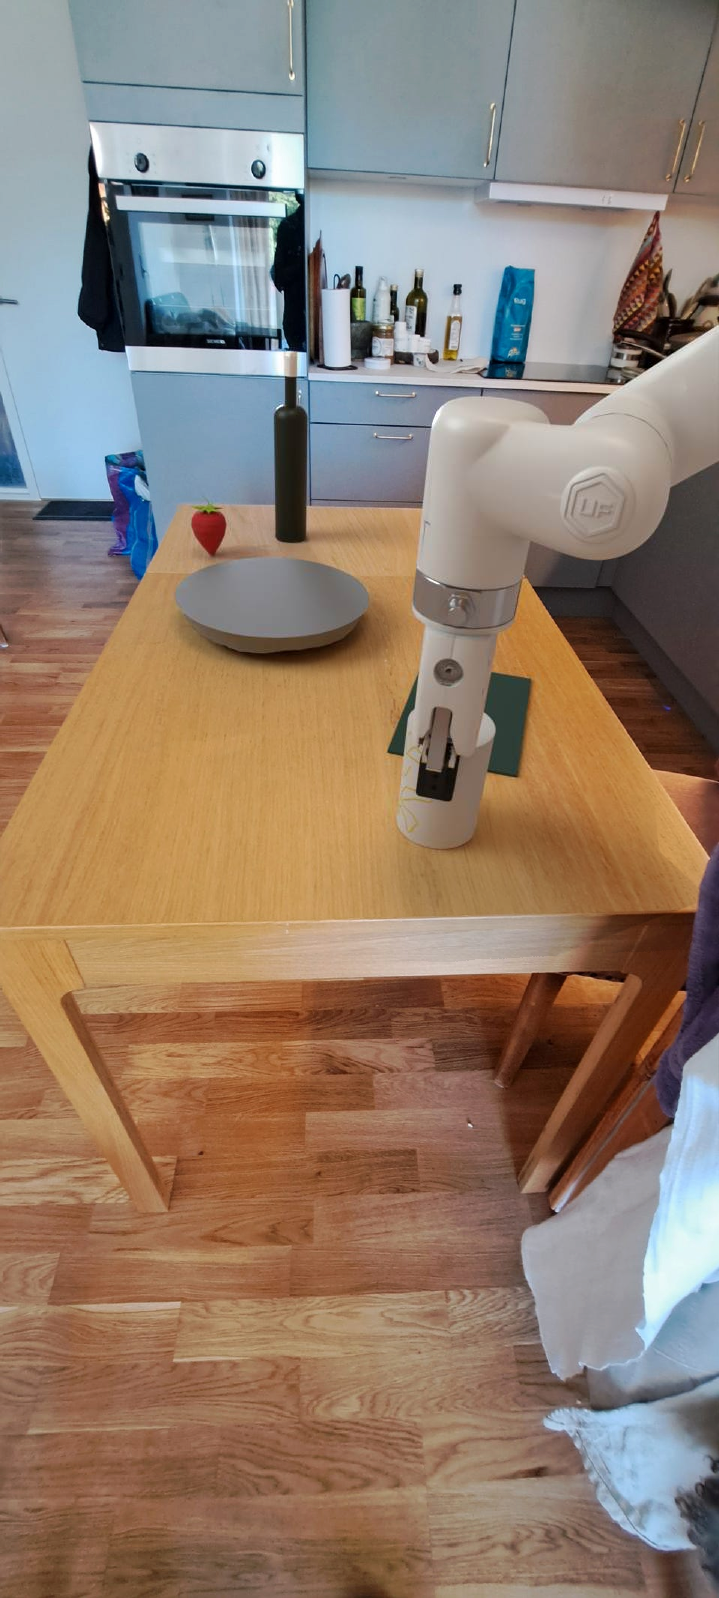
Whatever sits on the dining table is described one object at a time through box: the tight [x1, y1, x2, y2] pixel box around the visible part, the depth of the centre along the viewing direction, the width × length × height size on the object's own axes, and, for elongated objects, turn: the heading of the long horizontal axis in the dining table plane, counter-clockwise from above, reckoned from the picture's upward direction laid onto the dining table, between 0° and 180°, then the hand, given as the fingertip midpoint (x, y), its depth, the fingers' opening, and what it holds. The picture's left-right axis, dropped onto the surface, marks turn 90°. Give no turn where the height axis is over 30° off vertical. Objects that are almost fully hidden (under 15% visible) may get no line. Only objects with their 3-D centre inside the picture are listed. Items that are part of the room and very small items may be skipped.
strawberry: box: [190, 495, 227, 556], centre depth 125 cm, size 6×8×10 cm
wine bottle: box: [273, 350, 309, 543], centre depth 128 cm, size 6×6×30 cm
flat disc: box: [174, 556, 370, 654], centre depth 108 cm, size 28×28×4 cm
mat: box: [386, 671, 532, 778], centre depth 92 cm, size 15×23×1 cm, turn 166°
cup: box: [395, 709, 495, 850], centre depth 72 cm, size 8×8×12 cm
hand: (434, 793), depth 64 cm, fingers closed
